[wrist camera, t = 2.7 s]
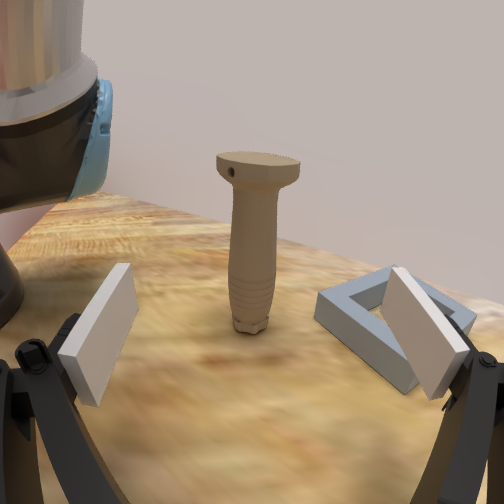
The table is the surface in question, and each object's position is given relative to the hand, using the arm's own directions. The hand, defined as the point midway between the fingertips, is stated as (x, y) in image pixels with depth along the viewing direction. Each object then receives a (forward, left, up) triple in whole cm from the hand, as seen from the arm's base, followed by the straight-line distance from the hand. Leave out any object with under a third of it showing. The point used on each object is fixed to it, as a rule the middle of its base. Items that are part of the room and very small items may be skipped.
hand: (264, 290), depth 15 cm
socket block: (-1, +17, -10) cm, 19 cm away
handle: (-9, +5, -10) cm, 14 cm away
